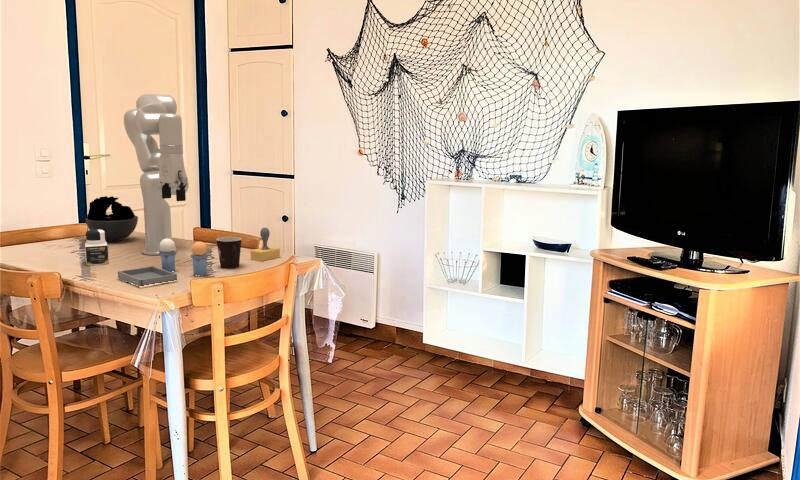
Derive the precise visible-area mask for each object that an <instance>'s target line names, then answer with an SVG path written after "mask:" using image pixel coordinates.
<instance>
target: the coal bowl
mask: <svg viewBox="0 0 800 480" xmlns="http://www.w3.org/2000/svg"><path fill="white" fill-rule="evenodd" d="M119 198H120V197H114V196H112V195H111V196H106V195H105V196H100V197H96V198H94V199H93V200H92V201H91V202H89V208H88V213H87V215H86V216H87V217H86V218H85V223H86V225H87V228H88V231H89V230H95V229H100V230H103V231H104V232H105V241H106V242H119V241H122V240H124V239H126V238H128V237H129V236H130V235H132V233H134V232H135V230H136V227H137V226H138V222H139V216H138V215H135V213H134V211H133V210H132V208H131V206H129V205H128V206H127V205H123V204H122V203H120V202H119V201H117V200H118V199H119ZM109 208H110V209H111V213H108V214H107V210H109Z"/></svg>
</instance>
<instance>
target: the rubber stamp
mask: <svg viewBox="0 0 800 480" xmlns="http://www.w3.org/2000/svg"><path fill="white" fill-rule="evenodd" d="M259 233H260V238H261V240H262V243H263V246H262V247H261V248H255V249H251V250H250V260H252V261H256V262H258V263H259V262H260V263H261V262H265V261H269V260H274V259H278V258H281V254H280V253H281V252H280V251H281V250H280V248H279V247H274V246H268V241H269V238H270V233H271V232H270V230H269V227H262V228H261V229H260V232H259Z"/></svg>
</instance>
